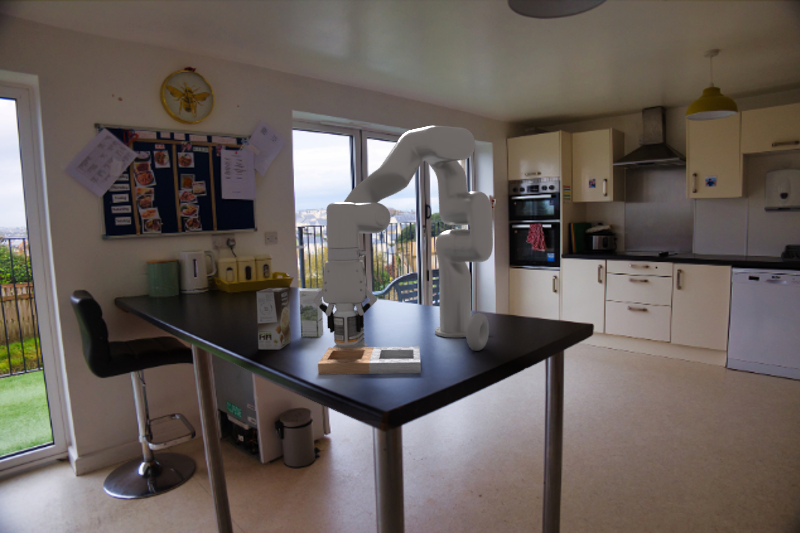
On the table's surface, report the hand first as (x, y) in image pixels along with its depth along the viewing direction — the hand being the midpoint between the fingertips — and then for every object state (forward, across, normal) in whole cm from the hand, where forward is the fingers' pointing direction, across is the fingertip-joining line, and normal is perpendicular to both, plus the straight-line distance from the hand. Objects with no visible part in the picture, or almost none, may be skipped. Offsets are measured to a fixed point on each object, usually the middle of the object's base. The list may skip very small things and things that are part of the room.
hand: (345, 330), depth 112 cm
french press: (+9, +1, -18) cm, 20 cm away
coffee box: (+9, +23, -20) cm, 32 cm away
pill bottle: (+3, 0, 0) cm, 3 cm away
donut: (+9, -33, -12) cm, 36 cm away
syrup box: (+9, +15, -32) cm, 36 cm away
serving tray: (+8, -6, 0) cm, 10 cm away
